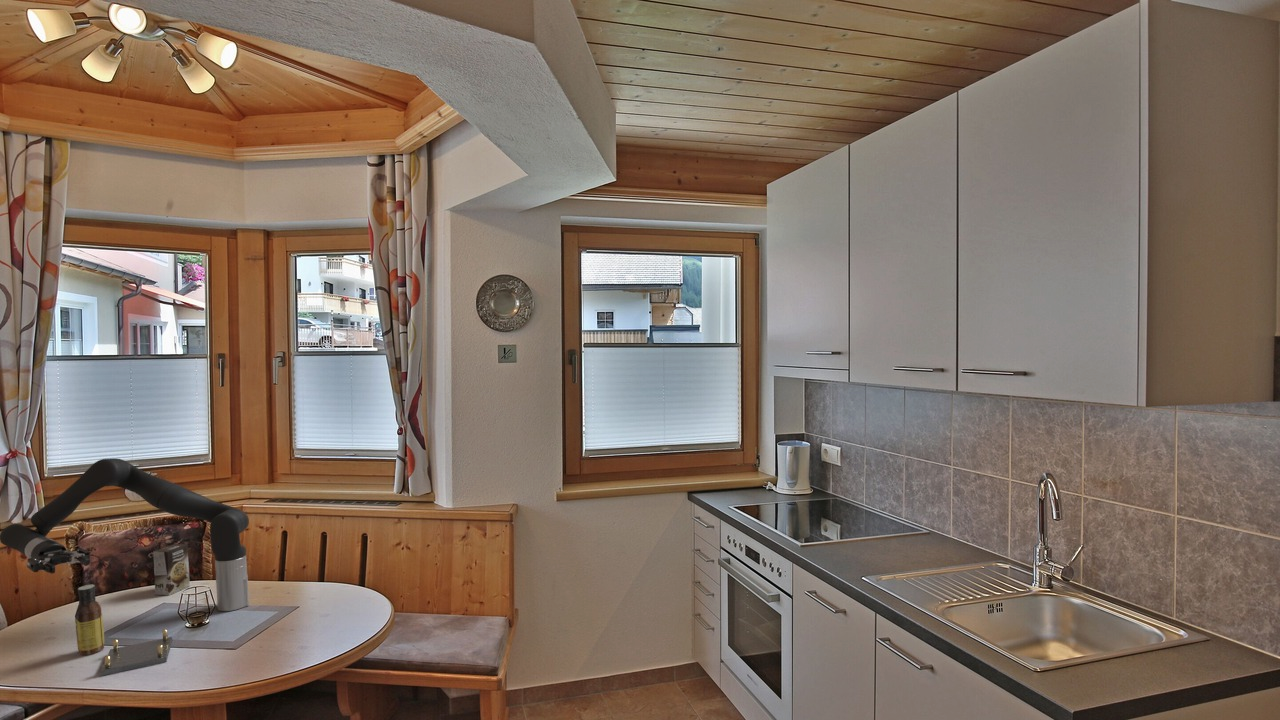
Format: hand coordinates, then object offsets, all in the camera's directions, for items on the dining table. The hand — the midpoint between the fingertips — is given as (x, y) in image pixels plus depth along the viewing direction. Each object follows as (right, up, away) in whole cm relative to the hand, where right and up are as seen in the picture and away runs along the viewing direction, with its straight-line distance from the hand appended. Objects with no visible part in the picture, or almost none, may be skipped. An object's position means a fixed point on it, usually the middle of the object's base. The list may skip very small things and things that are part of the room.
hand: (71, 566), depth 205 cm
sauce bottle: (+9, -25, -3) cm, 26 cm away
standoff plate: (+27, -24, -8) cm, 37 cm away
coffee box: (0, -23, +44) cm, 50 cm away
